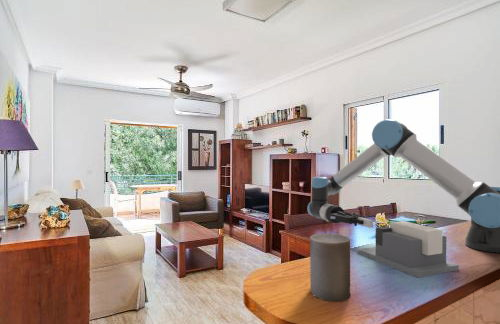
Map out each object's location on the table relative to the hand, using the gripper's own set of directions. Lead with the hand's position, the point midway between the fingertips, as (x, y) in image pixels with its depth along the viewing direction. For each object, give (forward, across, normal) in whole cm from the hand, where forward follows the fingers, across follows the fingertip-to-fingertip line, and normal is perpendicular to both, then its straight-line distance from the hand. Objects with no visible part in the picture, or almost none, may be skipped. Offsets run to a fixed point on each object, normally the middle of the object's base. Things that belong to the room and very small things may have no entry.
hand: (371, 224), depth 114 cm
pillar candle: (+26, +38, -10) cm, 47 cm away
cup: (+2, -21, -9) cm, 23 cm away
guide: (+15, 0, -9) cm, 17 cm away
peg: (+18, 0, -4) cm, 19 cm away
